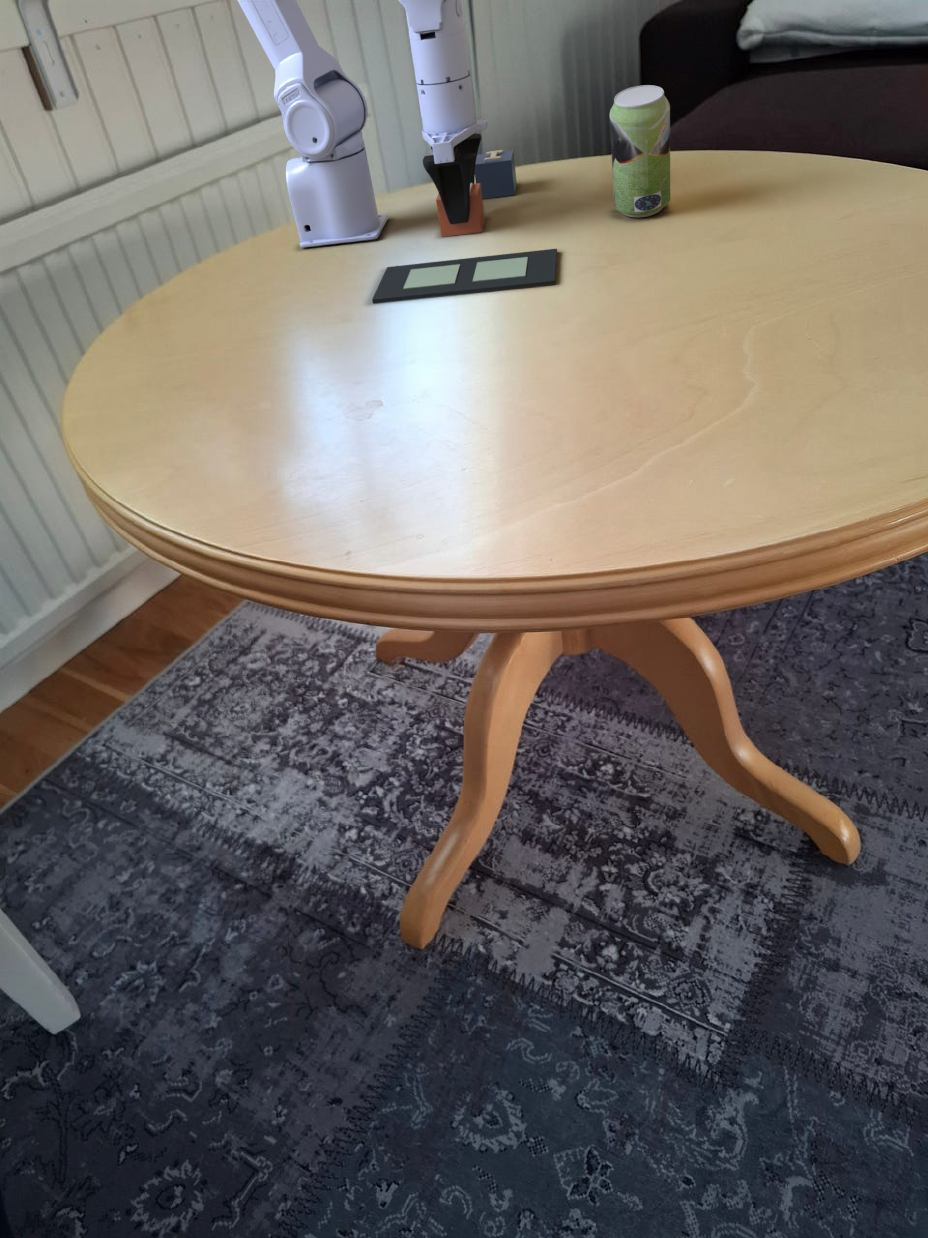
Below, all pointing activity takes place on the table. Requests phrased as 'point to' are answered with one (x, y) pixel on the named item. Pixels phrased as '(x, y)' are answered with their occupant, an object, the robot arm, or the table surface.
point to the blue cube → (496, 173)
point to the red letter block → (475, 215)
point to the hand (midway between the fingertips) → (461, 215)
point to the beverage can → (640, 150)
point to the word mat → (467, 276)
